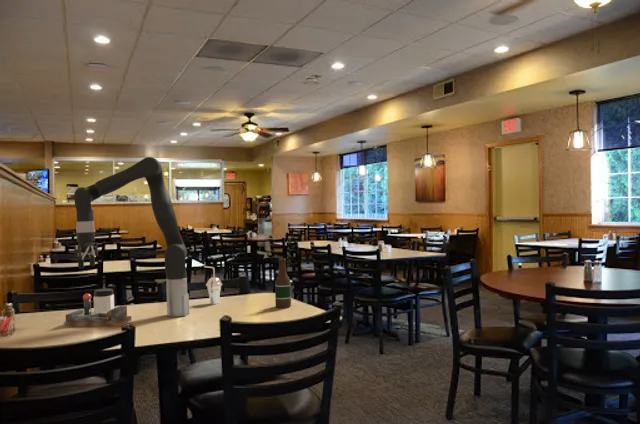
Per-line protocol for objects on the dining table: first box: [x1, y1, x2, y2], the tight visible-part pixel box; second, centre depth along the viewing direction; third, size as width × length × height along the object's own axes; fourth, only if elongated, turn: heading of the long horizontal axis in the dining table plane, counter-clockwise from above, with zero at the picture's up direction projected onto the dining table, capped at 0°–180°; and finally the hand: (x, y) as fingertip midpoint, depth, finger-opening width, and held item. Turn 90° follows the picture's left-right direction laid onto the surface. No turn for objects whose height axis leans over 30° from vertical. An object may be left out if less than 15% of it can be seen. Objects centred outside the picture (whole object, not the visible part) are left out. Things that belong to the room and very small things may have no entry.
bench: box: [63, 305, 132, 328], centre depth 214 cm, size 24×12×7 cm, turn 85°
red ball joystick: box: [77, 293, 99, 317], centre depth 214 cm, size 7×7×11 cm
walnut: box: [107, 310, 111, 319], centre depth 213 cm, size 4×4×4 cm
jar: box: [93, 288, 115, 313], centre depth 231 cm, size 9×8×12 cm
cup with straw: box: [203, 265, 223, 305], centre depth 254 cm, size 8×9×20 cm
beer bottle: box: [274, 257, 292, 309], centre depth 242 cm, size 8×8×24 cm
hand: (86, 267), depth 221 cm, fingers open, 8 cm apart
